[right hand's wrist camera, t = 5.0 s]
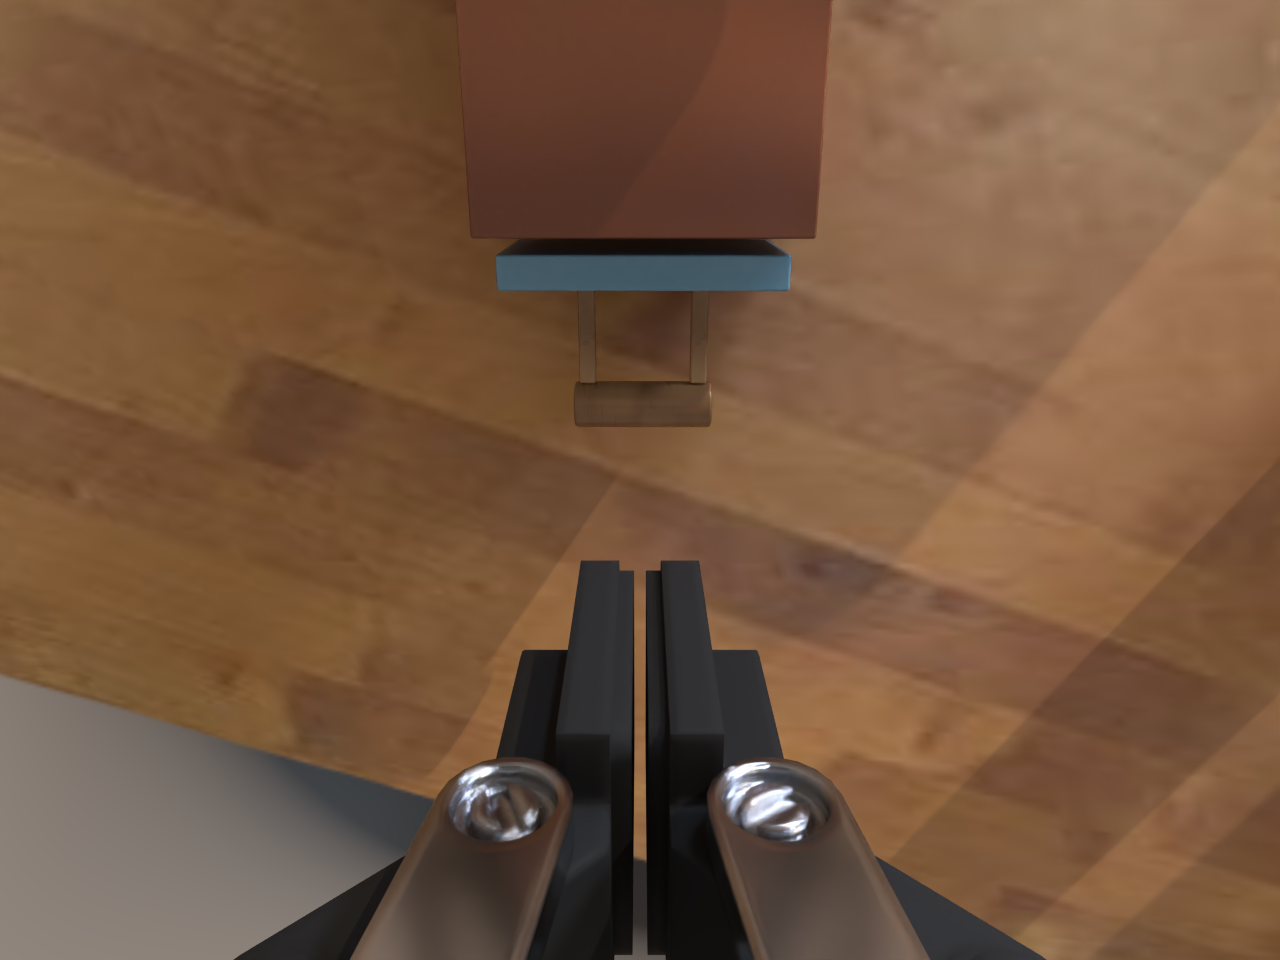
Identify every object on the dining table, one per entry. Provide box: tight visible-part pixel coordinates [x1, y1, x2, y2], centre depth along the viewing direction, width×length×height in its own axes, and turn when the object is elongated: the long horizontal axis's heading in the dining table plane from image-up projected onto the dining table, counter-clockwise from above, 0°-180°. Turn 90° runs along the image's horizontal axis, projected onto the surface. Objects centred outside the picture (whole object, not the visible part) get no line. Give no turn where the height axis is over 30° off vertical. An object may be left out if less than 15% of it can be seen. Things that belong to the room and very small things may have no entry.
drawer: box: [495, 239, 791, 427], centre depth 29 cm, size 25×10×6 cm, turn 0°
